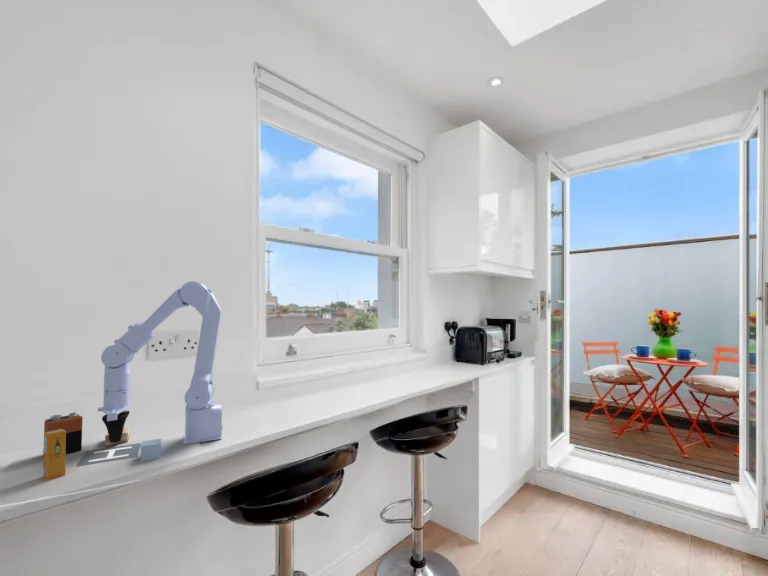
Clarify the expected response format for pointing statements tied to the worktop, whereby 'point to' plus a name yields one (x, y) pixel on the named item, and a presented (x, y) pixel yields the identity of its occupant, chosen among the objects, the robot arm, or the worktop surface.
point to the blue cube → (150, 449)
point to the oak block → (123, 439)
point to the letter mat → (109, 454)
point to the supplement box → (54, 454)
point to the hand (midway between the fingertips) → (115, 441)
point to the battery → (67, 430)
